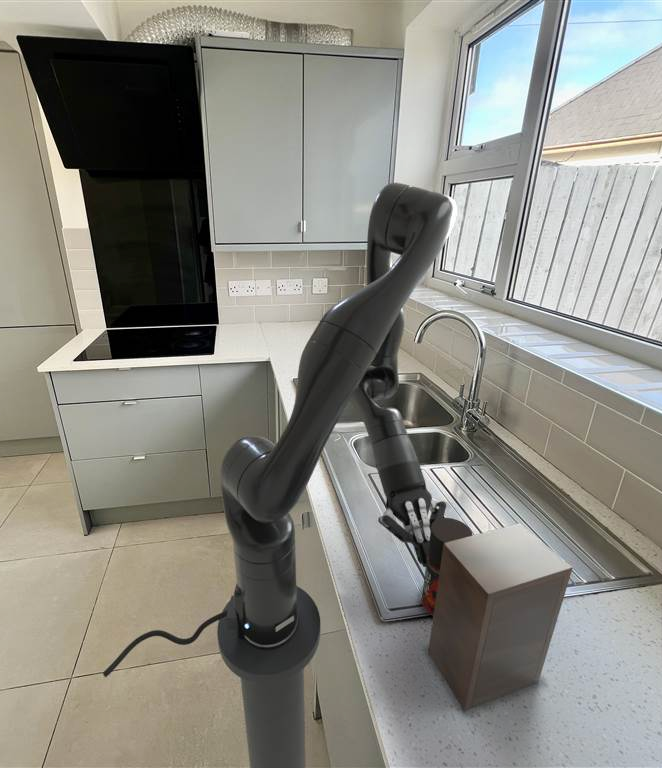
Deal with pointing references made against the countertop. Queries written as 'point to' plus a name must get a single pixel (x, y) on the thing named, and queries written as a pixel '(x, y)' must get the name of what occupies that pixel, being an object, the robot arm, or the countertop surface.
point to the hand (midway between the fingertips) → (429, 565)
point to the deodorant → (439, 555)
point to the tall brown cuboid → (495, 612)
